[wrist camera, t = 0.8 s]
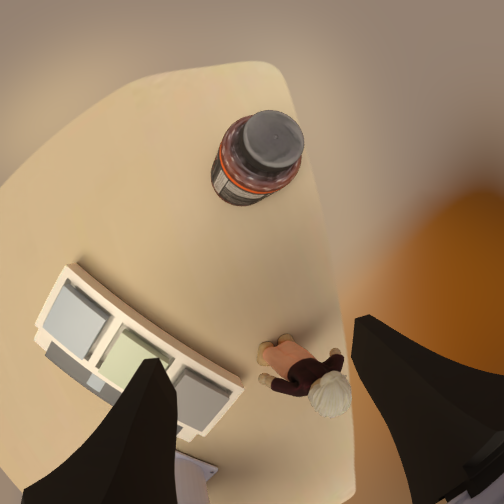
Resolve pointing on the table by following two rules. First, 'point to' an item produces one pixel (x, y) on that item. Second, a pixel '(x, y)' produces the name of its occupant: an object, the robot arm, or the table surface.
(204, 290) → the table surface
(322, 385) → the grandmother figurine
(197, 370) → the keypad
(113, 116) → the table surface
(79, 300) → the slate key
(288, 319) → the table surface
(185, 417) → the grey key
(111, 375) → the sage key
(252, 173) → the supplement bottle
